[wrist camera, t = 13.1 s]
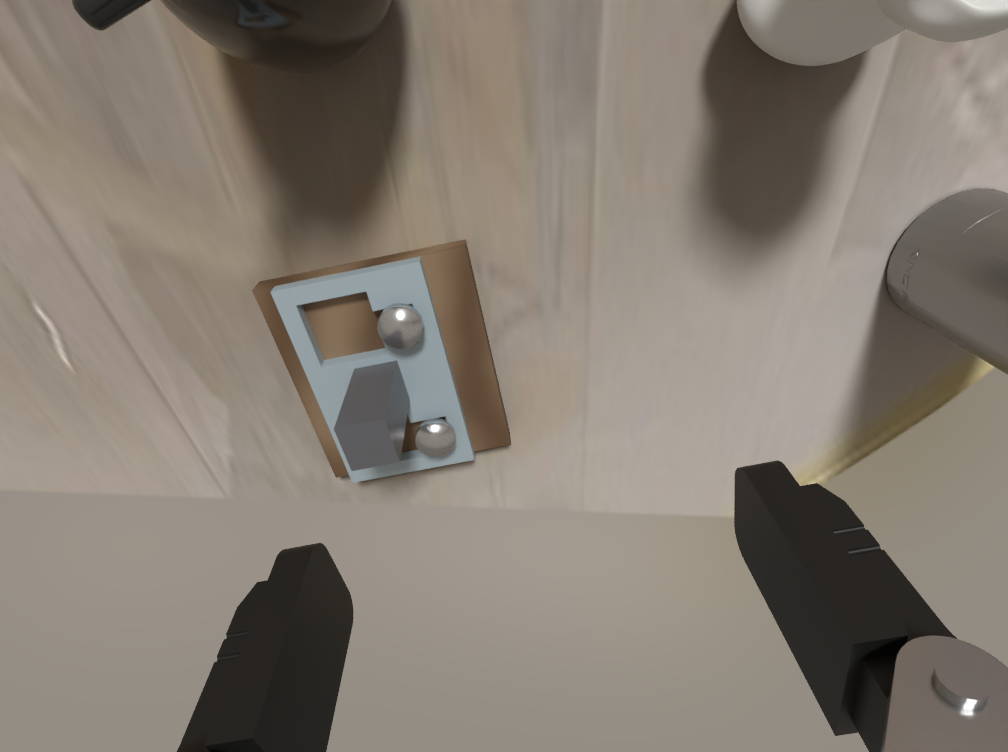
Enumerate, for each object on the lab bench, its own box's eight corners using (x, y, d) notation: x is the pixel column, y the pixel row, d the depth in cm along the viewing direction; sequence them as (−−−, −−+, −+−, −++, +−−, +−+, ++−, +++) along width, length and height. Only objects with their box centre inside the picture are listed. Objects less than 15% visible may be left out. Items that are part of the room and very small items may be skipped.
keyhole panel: (420, 256, 36) (410, 307, 29) (474, 451, 44) (476, 527, 37) (274, 286, 36) (230, 343, 30) (354, 474, 45) (334, 553, 38)
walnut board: (465, 239, 37) (465, 260, 34) (509, 433, 45) (513, 466, 42) (259, 281, 38) (238, 306, 34) (339, 465, 46) (329, 500, 42)
